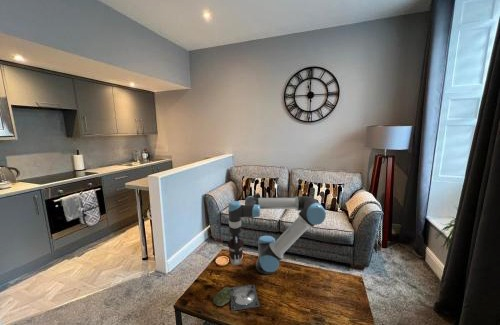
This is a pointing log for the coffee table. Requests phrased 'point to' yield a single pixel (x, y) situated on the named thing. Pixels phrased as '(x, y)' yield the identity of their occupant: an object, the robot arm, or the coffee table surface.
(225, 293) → the seashell
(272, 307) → the coffee table surface
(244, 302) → the duct flange
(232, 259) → the coffee cup
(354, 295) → the coffee table surface
